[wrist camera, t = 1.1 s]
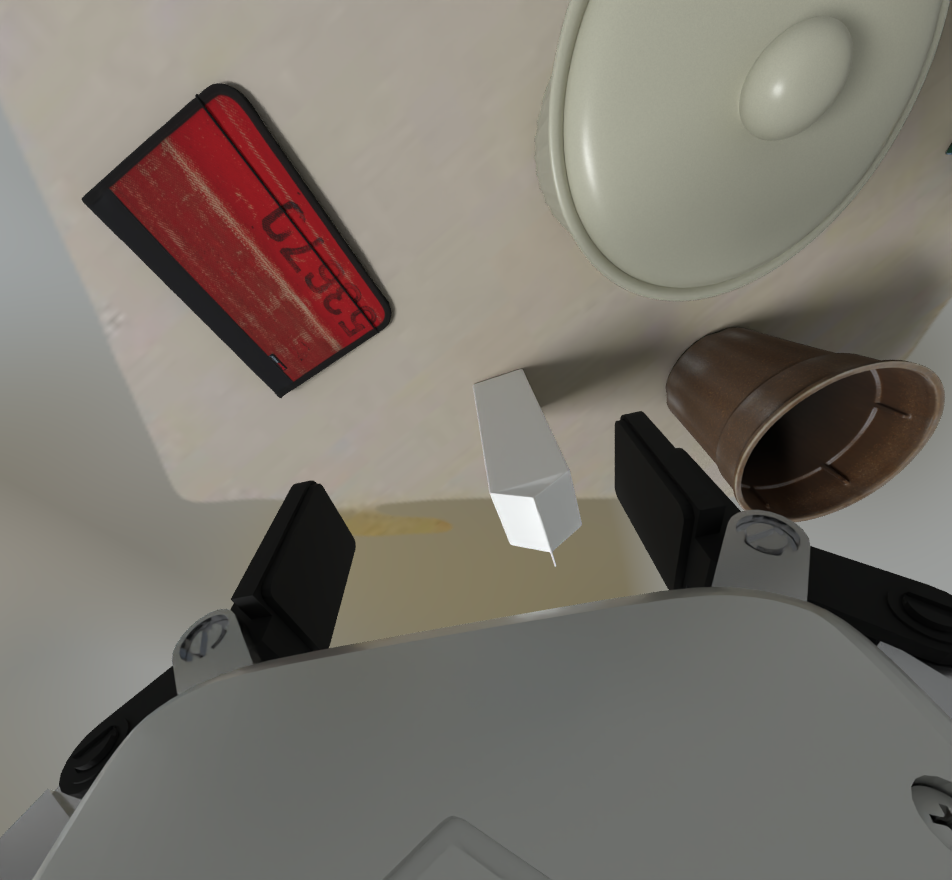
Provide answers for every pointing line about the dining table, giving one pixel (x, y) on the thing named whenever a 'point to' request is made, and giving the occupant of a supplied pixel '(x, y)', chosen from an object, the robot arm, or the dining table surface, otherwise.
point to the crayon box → (949, 150)
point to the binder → (242, 240)
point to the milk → (524, 465)
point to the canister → (721, 129)
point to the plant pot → (802, 419)
